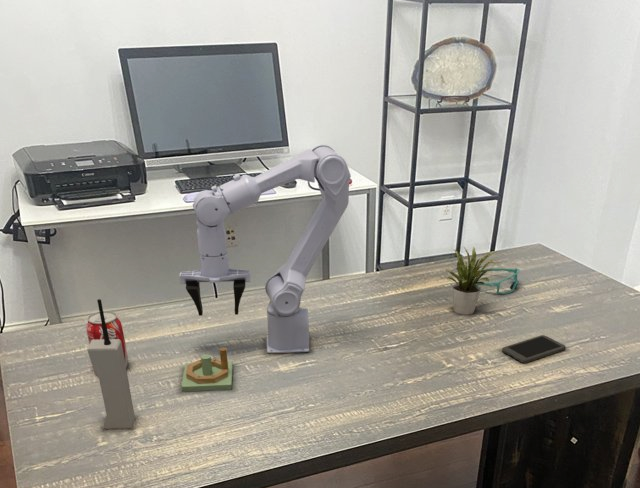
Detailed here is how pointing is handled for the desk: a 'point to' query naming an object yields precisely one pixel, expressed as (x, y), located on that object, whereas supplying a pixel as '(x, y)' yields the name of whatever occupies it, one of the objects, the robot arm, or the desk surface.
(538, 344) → the cell phone
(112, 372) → the vintage mobile phone
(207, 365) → the peg stand
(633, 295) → the desk surface
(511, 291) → the sunglasses
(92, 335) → the soda can
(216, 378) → the maple ring
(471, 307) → the house plant
